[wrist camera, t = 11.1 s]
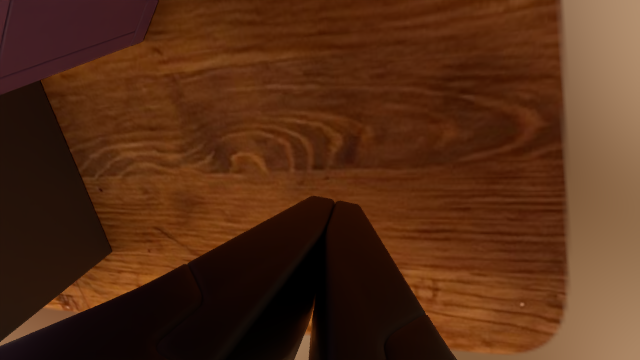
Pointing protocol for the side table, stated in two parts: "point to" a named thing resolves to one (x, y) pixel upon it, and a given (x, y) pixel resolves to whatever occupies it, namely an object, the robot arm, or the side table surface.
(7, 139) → the desk stand
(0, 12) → the lid
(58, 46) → the file holder
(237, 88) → the side table surface
